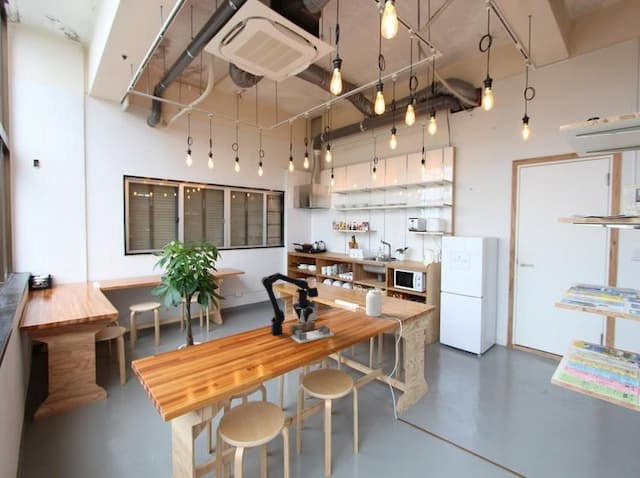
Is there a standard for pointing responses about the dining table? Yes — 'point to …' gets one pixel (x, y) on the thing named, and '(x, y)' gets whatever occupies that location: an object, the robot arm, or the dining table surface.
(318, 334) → the end cap plate
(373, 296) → the can
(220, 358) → the dining table surface
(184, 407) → the dining table surface
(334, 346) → the dining table surface
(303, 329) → the slat
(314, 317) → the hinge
